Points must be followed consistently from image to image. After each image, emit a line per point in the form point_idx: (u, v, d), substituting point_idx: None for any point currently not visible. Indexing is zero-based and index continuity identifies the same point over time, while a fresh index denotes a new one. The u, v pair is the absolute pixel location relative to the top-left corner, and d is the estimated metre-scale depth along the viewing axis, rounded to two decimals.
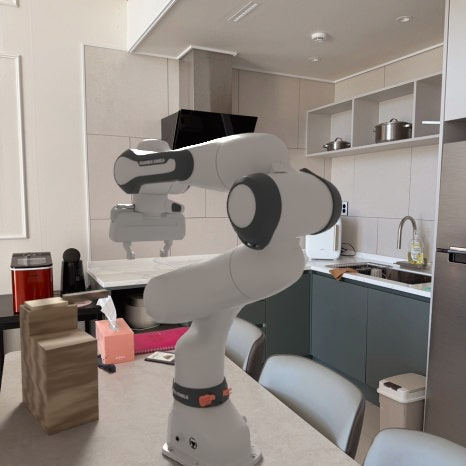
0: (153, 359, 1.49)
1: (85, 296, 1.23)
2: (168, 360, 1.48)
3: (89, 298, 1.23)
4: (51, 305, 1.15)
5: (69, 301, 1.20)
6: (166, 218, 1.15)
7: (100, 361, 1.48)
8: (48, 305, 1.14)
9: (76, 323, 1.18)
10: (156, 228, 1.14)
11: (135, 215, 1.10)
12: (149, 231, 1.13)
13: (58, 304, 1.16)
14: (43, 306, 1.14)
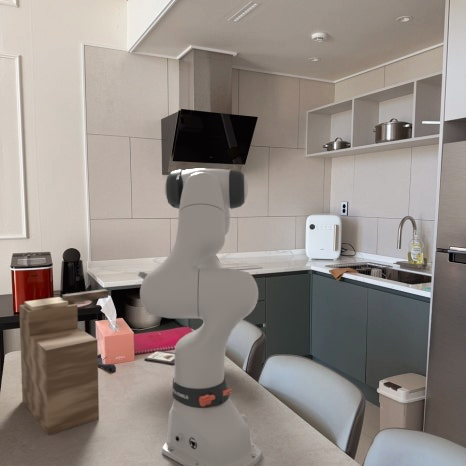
0: (153, 359, 1.49)
1: (85, 296, 1.23)
2: (168, 360, 1.48)
3: (89, 298, 1.23)
4: (51, 305, 1.15)
5: (69, 301, 1.20)
6: None
7: (100, 361, 1.48)
8: (48, 305, 1.14)
9: (76, 323, 1.18)
10: None
11: None
12: None
13: (58, 304, 1.16)
14: (43, 306, 1.14)
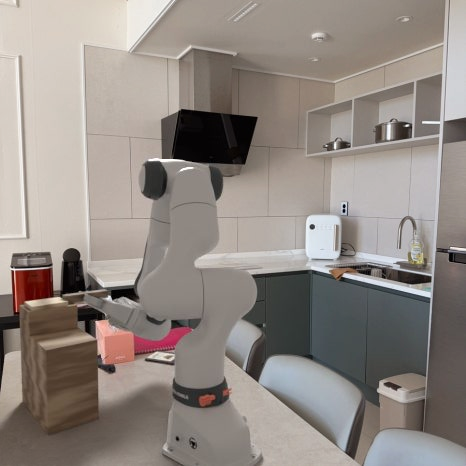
0: (153, 359, 1.49)
1: None
2: (168, 360, 1.48)
3: None
4: (51, 305, 1.15)
5: (69, 301, 1.20)
6: (122, 304, 1.27)
7: (100, 361, 1.47)
8: (48, 305, 1.14)
9: (76, 323, 1.18)
10: None
11: None
12: None
13: (58, 304, 1.16)
14: (43, 306, 1.14)
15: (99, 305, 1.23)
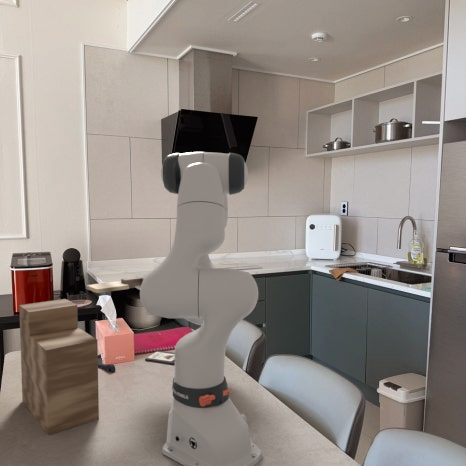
0: (154, 359, 1.49)
1: None
2: (169, 360, 1.48)
3: None
4: (114, 288, 1.18)
5: (129, 285, 1.23)
6: None
7: (100, 361, 1.47)
8: (111, 288, 1.17)
9: (76, 323, 1.18)
10: None
11: None
12: None
13: (120, 287, 1.19)
14: (107, 289, 1.17)
15: None
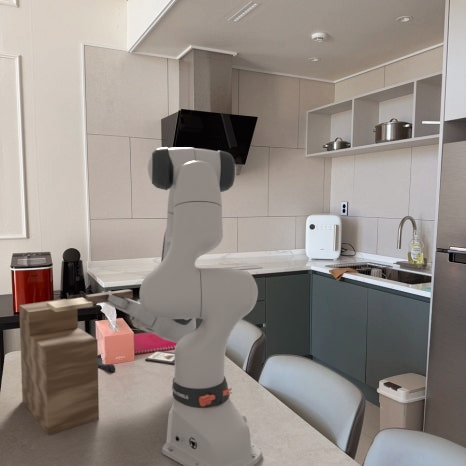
0: (154, 359, 1.49)
1: None
2: (169, 360, 1.48)
3: None
4: (75, 306, 1.09)
5: (93, 302, 1.14)
6: None
7: (100, 361, 1.47)
8: (72, 306, 1.09)
9: (76, 323, 1.18)
10: None
11: None
12: None
13: (82, 305, 1.10)
14: (67, 307, 1.08)
15: (124, 306, 1.17)
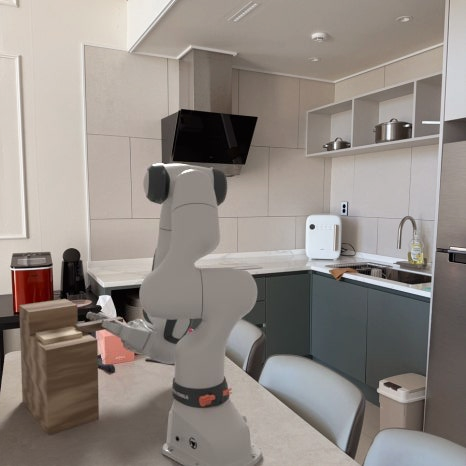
0: None
1: (99, 325, 1.16)
2: None
3: None
4: (64, 337, 1.08)
5: (83, 331, 1.13)
6: (137, 328, 1.20)
7: (100, 361, 1.47)
8: (61, 337, 1.08)
9: (76, 323, 1.18)
10: None
11: None
12: None
13: (72, 336, 1.09)
14: (56, 338, 1.07)
15: None
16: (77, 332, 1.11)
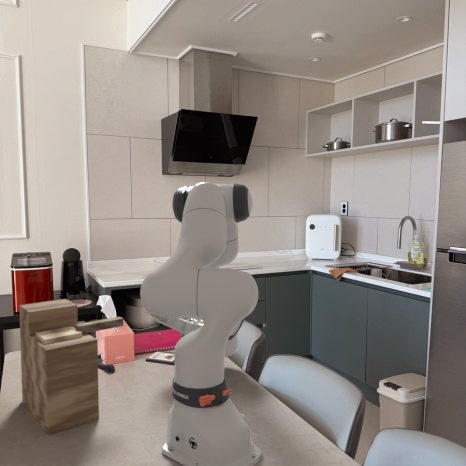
0: (154, 359, 1.49)
1: (99, 325, 1.16)
2: (170, 360, 1.48)
3: (104, 327, 1.17)
4: (64, 337, 1.08)
5: (83, 331, 1.13)
6: (197, 324, 1.32)
7: (100, 361, 1.47)
8: (61, 337, 1.08)
9: (76, 323, 1.18)
10: None
11: None
12: None
13: (72, 336, 1.09)
14: (56, 338, 1.07)
15: None
16: (77, 332, 1.11)
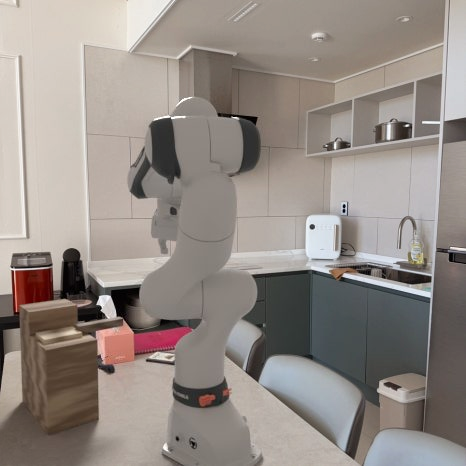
0: (155, 359, 1.49)
1: (99, 325, 1.16)
2: (170, 360, 1.48)
3: (104, 327, 1.17)
4: (64, 337, 1.08)
5: (83, 331, 1.13)
6: (173, 220, 1.28)
7: (100, 361, 1.47)
8: (61, 337, 1.08)
9: (76, 323, 1.18)
10: (169, 229, 1.31)
11: (158, 217, 1.35)
12: (165, 231, 1.32)
13: (72, 336, 1.09)
14: (56, 338, 1.07)
15: None
16: (77, 332, 1.11)
